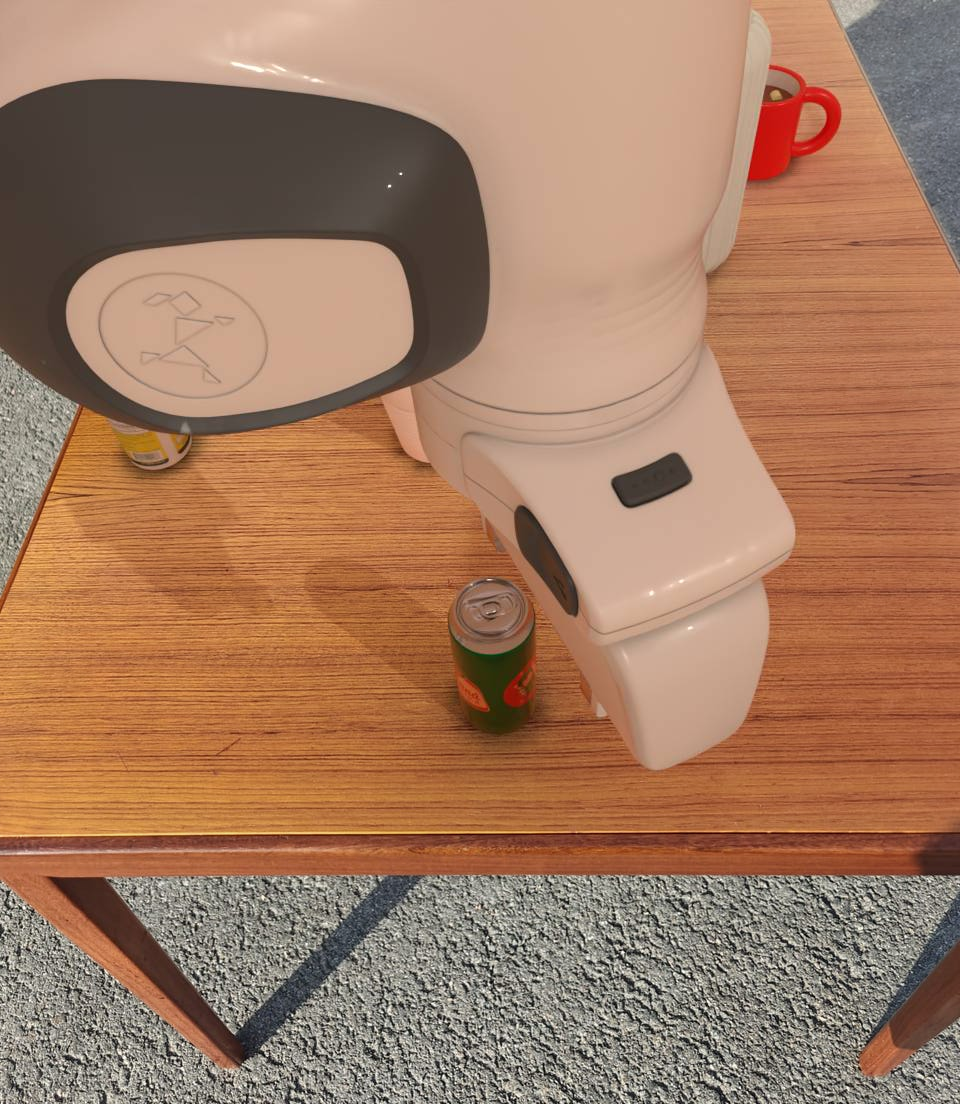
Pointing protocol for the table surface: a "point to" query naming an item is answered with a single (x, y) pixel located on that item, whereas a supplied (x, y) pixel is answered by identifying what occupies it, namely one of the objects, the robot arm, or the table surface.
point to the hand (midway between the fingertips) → (553, 611)
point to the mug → (788, 122)
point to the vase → (740, 145)
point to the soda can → (494, 654)
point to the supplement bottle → (151, 446)
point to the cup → (404, 421)
